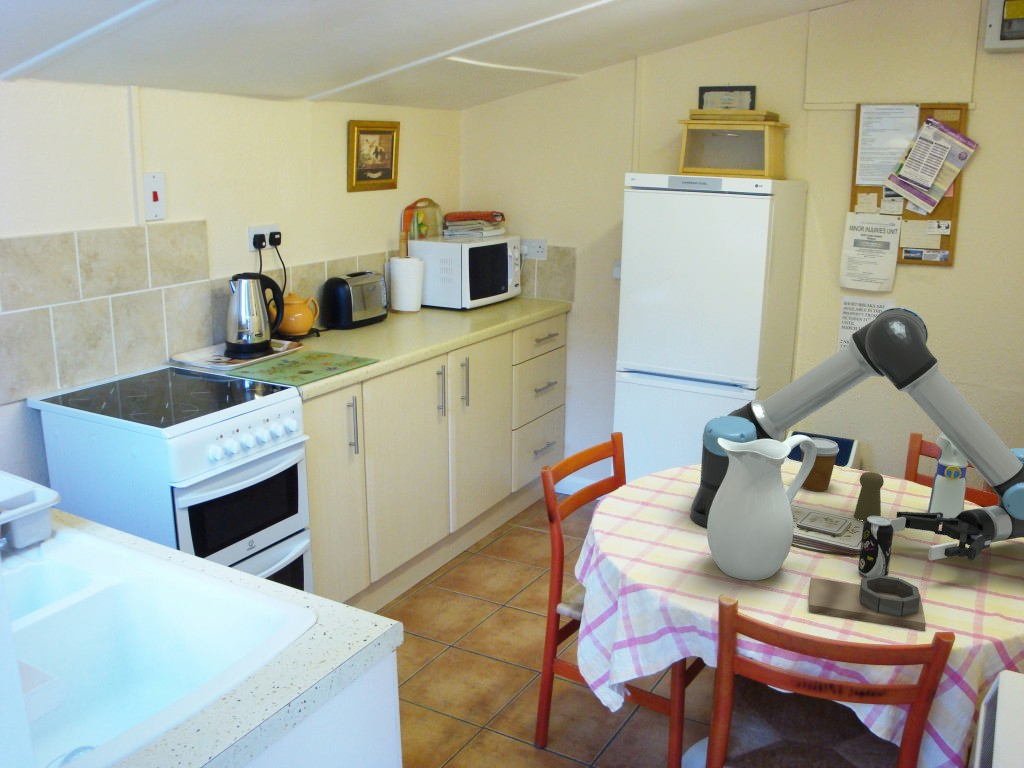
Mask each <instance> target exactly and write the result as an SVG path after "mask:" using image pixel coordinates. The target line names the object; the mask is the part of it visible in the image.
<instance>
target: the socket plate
mask: <svg viewBox="0 0 1024 768" xmlns="http://www.w3.org/2000/svg"><path fill="white" fill-rule="evenodd" d="M809 581H810V582H809V593H808V594H809V597H808V598H809V599H808V613H814V614H820V615H824V616H825V615H827V616H831V617H832V616H833V617H839V618H844V619H851V620H858V621H862V622H870V623H875V624H880V625H881V624H882V625H888V626H893V627H899V628H907V629H913V630H919V631H925V630H926V626H927V625H926V624H927V623H926V617H925V611H924V608H923V602H922V597H921V593H920V592H919V591H920V589H919V587H918V586H917V585H914V584H912V583H910V582H908V581H906V580H904V579H902V578H899V577H895V576H894V577H892V576H888V575H887V576H881V575H878V576H877V575H875V576H871V577H864V578H861V580H860V584H856V583H851V582H844V581H839V580H833V579H832V580H830V579H825V578H819V577H810V580H809Z"/></svg>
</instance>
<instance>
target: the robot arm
mask: <svg viewBox="0 0 1024 768" xmlns="http://www.w3.org/2000/svg"><path fill="white" fill-rule="evenodd" d="M928 338H929V332H928V328H927V325H926V322H925V321H924V319H923V318H922V316H920V315H919V313H917V312H916V311H914V310H912V309H909V308H906V307H892V308H887V309H885V310H883V311H881V312H880V313H879V314H878V315H877V316H876V317H875V318H874V319H873V320H871V321H870V322H869V323H866V324H865V325H864V326H862V327H861V328H859V329H858V330H856V331H855V332H853V333H852V334H851V335H850V339H849V343H848V345H846V346H844V347H843V348H841V349H840V350H839V351H837V352H835V353H834V354H832V355H831V356H829V357H828V358H826V359H825V360H823V361H822V362H821V363H819V364H818V365H816V366H814V367H813V368H811V369H809V370H808V371H806V372H805V373H804V374H802V375H801V376H799V377H797V378H796V379H794V380H793V381H791V382H790V383H789V384H787V385H786V386H784V387H782V388H781V389H779V390H778V391H776V392H775V393H773V394H772V395H770V396H769V397H767V398H766V399H764V400H762V399H752V400H751V401H749V402H747V404H745V405H744V406H742V407H739V408H738V409H734V410H733V411H731V412H730V413H729V414H727V415H724V416H723V415H722V416H719V417H714V418H712V419H710V420H708V421H707V422H706V424H705V425H704V429H703V434H702V449H701V452H702V453H701V465H700V466H701V467H700V470H701V471H700V481H699V482H700V483H699V486H698V488H697V489H698V490H697V492H696V494H695V496H694V499H693V501H692V503H691V507H690V518H691V520H692V522H694V523H696V524H697V525H699V526H701V527H703V528H707V523H708V516H709V512H710V508H711V505H712V503H713V500H714V498H715V495H716V493H717V491H718V489H719V488H720V486H721V484H722V482H723V480H724V478H725V476H726V473H727V470H728V466H729V457H728V455H727V453H726V452H725V451H724V450H723V449H722V448H721V447H720V446H719V445H718V441H717V440H718V438H723V439H725V440H728V441H732V442H737V443H747V442H751V441H755V440H759V439H773V440H777V441H780V442H782V441H784V440H783V439H784V435H785V431H787V430H789V429H790V428H791V427H793V426H795V425H796V424H798V423H799V422H802V420H804V419H806V418H807V417H809V416H811V415H812V414H814V413H816V412H817V411H818V410H820V409H821V408H823V407H825V406H826V405H828V404H829V403H831V402H833V401H834V400H836V399H837V398H839V397H840V396H842V395H844V394H845V393H847V392H848V391H850V390H852V389H853V388H855V387H856V386H858V385H859V384H861V383H863V382H865V381H866V380H868V379H869V378H871V377H878V378H884V377H886V378H887V379H888V380H889V382H890V383H891V384H892V385H893V386H894V387H895V388H896V389H897V390H898V391H899V392H905V393H906V394H908V395H909V396H910V397H911V398H912V400H913V401H914V402H915V403H916V404H917V405H918V406H919V407H920V408H921V410H922V411H923V412H924V413H925V414H926V415H927V417H928V418H929V419H930V420H931V421H932V422H933V423H934V424H935V426H936V427H938V429H939V430H940V431H941V433H944V434H945V435H946V437H947V438H948V439H949V440H950V441H951V442H952V443H953V444H954V446H955V447H956V448H957V449H958V450H959V451H960V452H961V453H962V455H963V456H964V457H965V458H966V459H967V460H968V462H969V465H971V466H972V467H973V468H974V470H976V471H977V473H978V474H979V476H981V477H982V478H983V480H984V481H985V482H986V483H987V484H988V485H989V486H990V487H991V488H992V490H993V491H994V492H995V493H996V495H997V496H998V503H997V504H996V505H991V506H984V507H979V508H978V507H977V508H972V509H966V510H964V511H963V512H961V513H960V514H959V515H958V516H957V517H955V518H943V513H941V512H937V513H928V512H917V511H915V512H914V511H913V512H912V511H896V517H893V518H888V519H889V520H891V525H892V527H893V529H894V531H893V533H894V532H901V531H905V530H906V529H912V530H917V531H926V532H933V533H934V534H935V535H939V536H947V537H948V538H951V539H953V540H957V541H958V542H956V541H950V542H946V543H941V544H935V545H930V546H929V549H928V555H927V556H928V557H927V560H929V561H934V560H939V559H940V560H941V559H945V558H953V557H957V556H958V557H960V558H964V557H967V558H966V559H967V560H969V561H974V560H975V559H976V558H977V557H978V556H979V555H980V554H981V553H982V552H983V551H984V550H986V549H990V548H991V544H992V543H995V542H996V543H998V542H1002V541H1008V540H1009V541H1010V540H1015V539H1019V538H1024V447H1018V448H1017V447H1014V448H1009V447H1008V446H1007V444H1005V443H1004V442H1003V440H1002V439H1001V438H1000V436H999V435H997V433H996V432H995V431H994V430H993V429H992V428H991V427H990V425H989V424H988V423H987V422H986V421H985V420H984V419H983V417H981V415H980V414H979V413H978V412H977V411H976V410H975V409H974V407H973V406H972V405H970V403H969V402H968V401H967V400H966V399H965V397H964V396H963V395H962V394H961V393H960V392H959V390H957V389H956V387H955V386H954V385H953V384H952V383H951V381H950V380H949V379H948V378H946V376H945V375H944V374H943V373H942V372H941V371H940V370H939V360H938V359H937V358H936V357H935V355H933V353H932V352H931V351H930V349H929V348H928V345H927V342H928ZM940 526H941V529H940ZM967 546H968V547H967Z"/></svg>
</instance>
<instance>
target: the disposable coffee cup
mask: <svg viewBox="0 0 1024 768" xmlns="http://www.w3.org/2000/svg"><path fill="white" fill-rule="evenodd" d="M809 438H810V439H812V440H813V441H814V443H815V445H816V450H817V453H816V459H815V462H814V465H813V467H812V469H811V471H810V473H809V474H808V476H807V478H806V479H805V481H804V483H803V484H802V487H803V488H804V489H806V490H808V491H813V492H826V491H828V490H829V487H830V483H831V478H832V474H833V471H834V467H835V463H836V459H837V455H838V453H839V452H840V449H839V445H838V443H837V442H836V441H834V440H831V439H827V438H824V437H823V438H822V437H809ZM799 448H800V450H801V463H802V462H803V459H804V453H805V447H804V444H803V443H802V444H799Z"/></svg>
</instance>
